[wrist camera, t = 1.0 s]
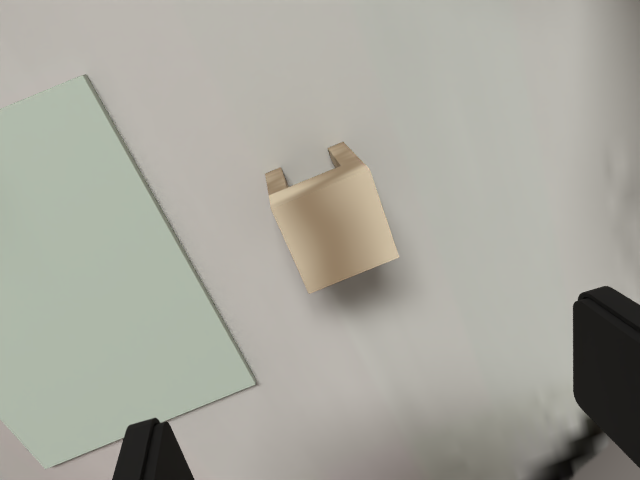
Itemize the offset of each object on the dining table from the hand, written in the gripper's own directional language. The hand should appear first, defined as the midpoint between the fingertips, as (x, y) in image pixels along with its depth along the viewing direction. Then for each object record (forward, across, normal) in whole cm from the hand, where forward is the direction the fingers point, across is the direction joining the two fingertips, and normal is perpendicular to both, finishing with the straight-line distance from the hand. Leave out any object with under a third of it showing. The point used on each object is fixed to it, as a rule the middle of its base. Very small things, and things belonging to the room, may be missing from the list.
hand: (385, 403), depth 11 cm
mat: (+20, +15, +4) cm, 26 cm away
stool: (+20, -2, +1) cm, 20 cm away
